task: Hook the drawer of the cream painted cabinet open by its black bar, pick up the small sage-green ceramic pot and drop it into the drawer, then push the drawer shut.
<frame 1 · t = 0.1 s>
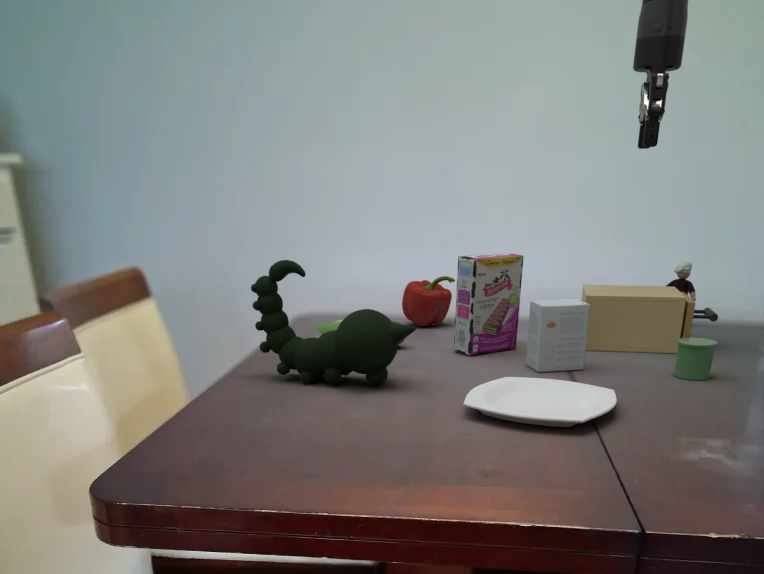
hand: (646, 147, 127), 33 cm above the table, tool pointing down, fingers open, 8 cm apart
toy figurine: (336, 382, 115), on the table
grandmother figurine: (675, 325, 155), on the table
cabinet: (625, 344, 138), on the table
plate: (539, 411, 100), on the table
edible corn: (359, 344, 140), on the table
drawer: (654, 318, 135), point 5 cm above the table, slide at 0.5 cm
pot: (691, 376, 116), on the table
candy bar box: (485, 351, 134), on the table
vegetable: (427, 326, 157), on the table
small box: (554, 368, 122), on the table
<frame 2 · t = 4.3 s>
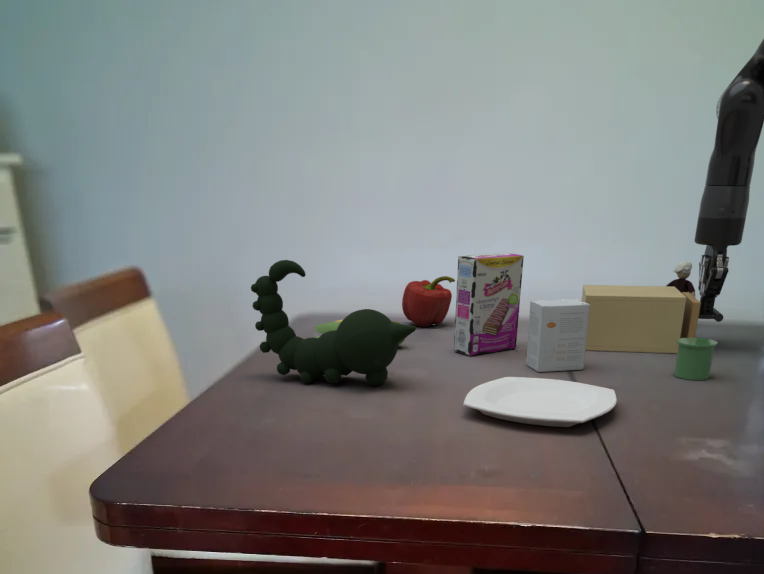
hand: (704, 318, 133), 5 cm above the table, tool pointing down, fingers closed
drawer: (659, 318, 135), point 5 cm above the table, slide at 1.4 cm, touching gripper
everything else where it was.
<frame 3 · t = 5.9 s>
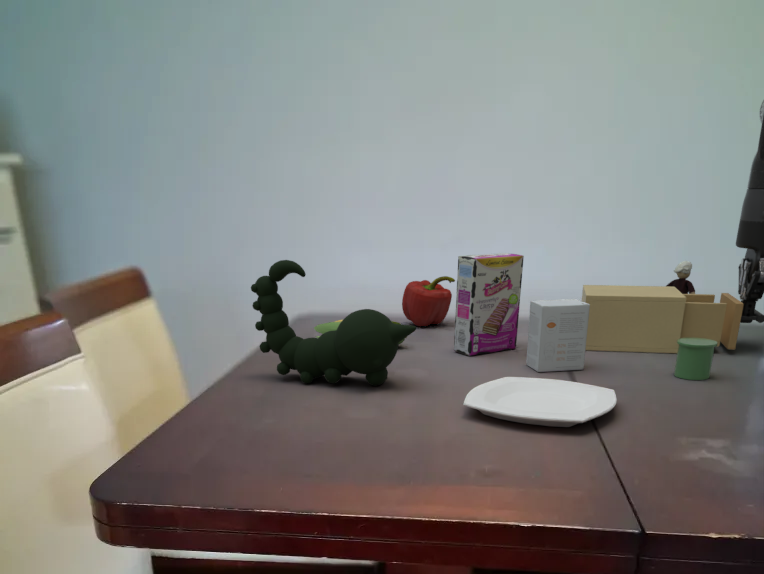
hand: (744, 322, 132), 5 cm above the table, tool pointing down, fingers closed
drawer: (699, 319, 134), point 5 cm above the table, slide at 8.2 cm, touching gripper
everything else where it was.
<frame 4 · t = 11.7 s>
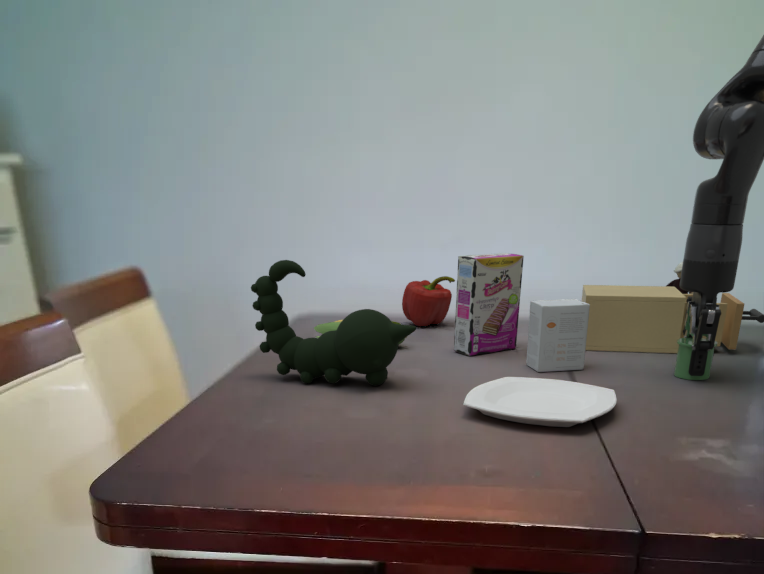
hand: (692, 370, 116), 1 cm above the table, tool pointing down, fingers closed on pot, 5 cm apart
drawer: (700, 319, 134), point 5 cm above the table, slide at 8.4 cm
pot: (691, 375, 116), on the table, touching gripper
everything else where it was.
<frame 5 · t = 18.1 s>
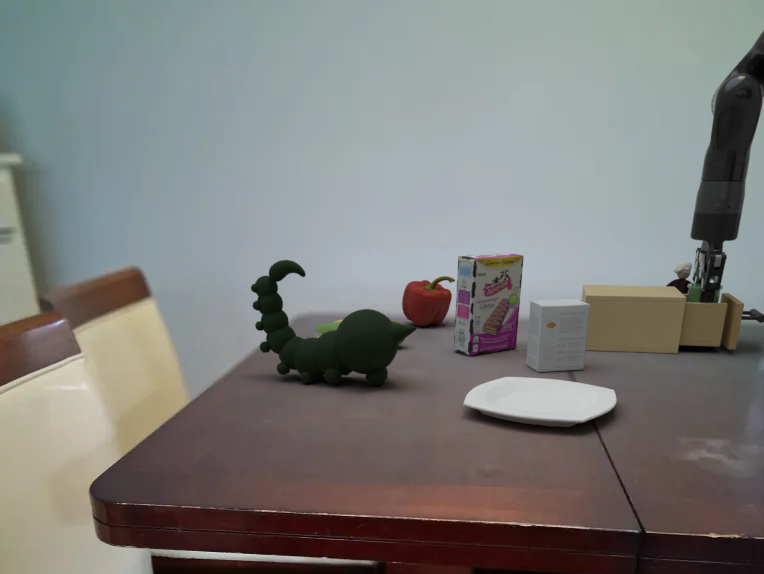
hand: (701, 311, 133), 6 cm above the table, tool pointing down, fingers closed on pot, 5 cm apart
pot: (700, 316, 134), point 5 cm above the table, touching gripper
everything else where it was.
when the fingers open (8 cm above the table, at t = 28.5 s): pot drops 5 cm, resting on drawer.
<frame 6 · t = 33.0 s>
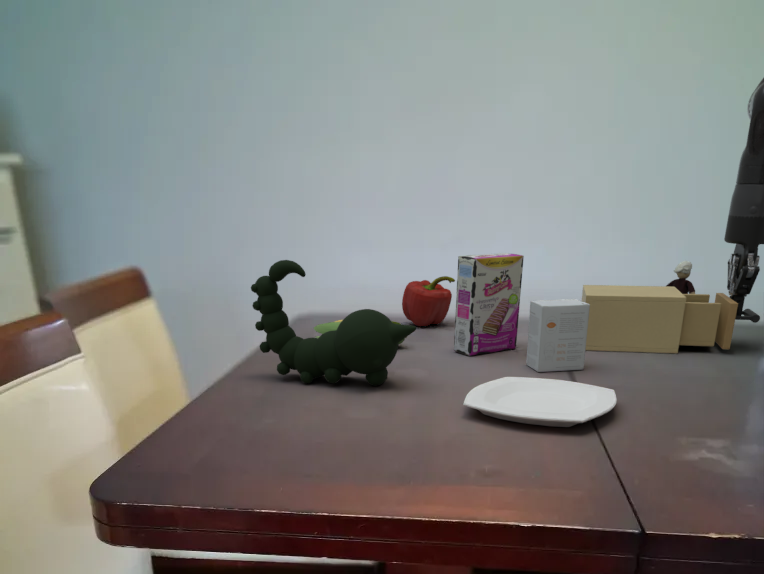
hand: (733, 317, 133), 5 cm above the table, tool pointing down, fingers closed
drawer: (694, 319, 134), point 5 cm above the table, slide at 7.3 cm, touching pot
pot: (693, 335, 135), point 2 cm above the table, touching drawer
everything else where it was.
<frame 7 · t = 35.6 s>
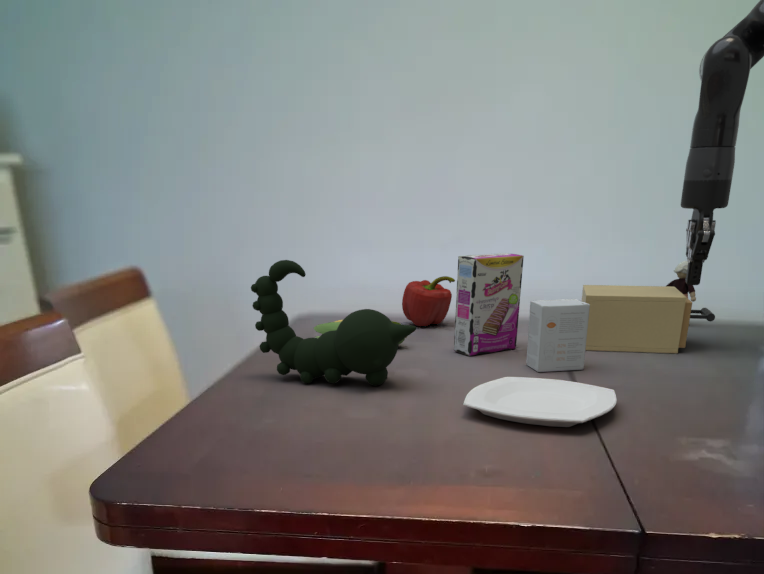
hand: (692, 284, 132), 11 cm above the table, tool pointing down, fingers closed
drawer: (651, 318, 135), point 5 cm above the table, slide at 0.0 cm, touching cabinet, pot
pot: (651, 333, 136), point 2 cm above the table, touching drawer
everything else where it was.
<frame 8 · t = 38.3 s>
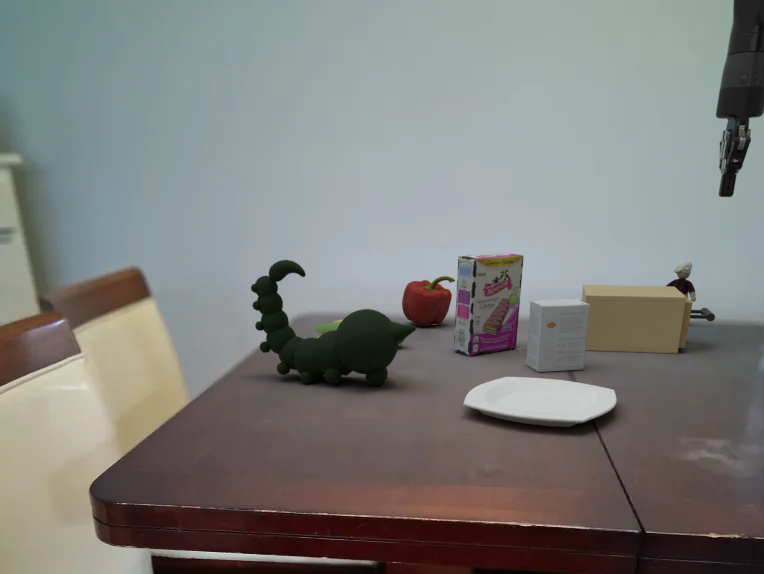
hand: (725, 196, 133), 25 cm above the table, tool pointing down, fingers closed
drawer: (651, 318, 135), point 5 cm above the table, slide at 0.0 cm, touching pot
everything else where it was.
at the end: drawer pulled out 8.4 cm at the most during the clip, back to where it started at the end; pot inside the target area in the cabinet (4.3 cm from its centre), point 2.0 cm above the cabinet's base; drawer slide at 0.0 cm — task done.
